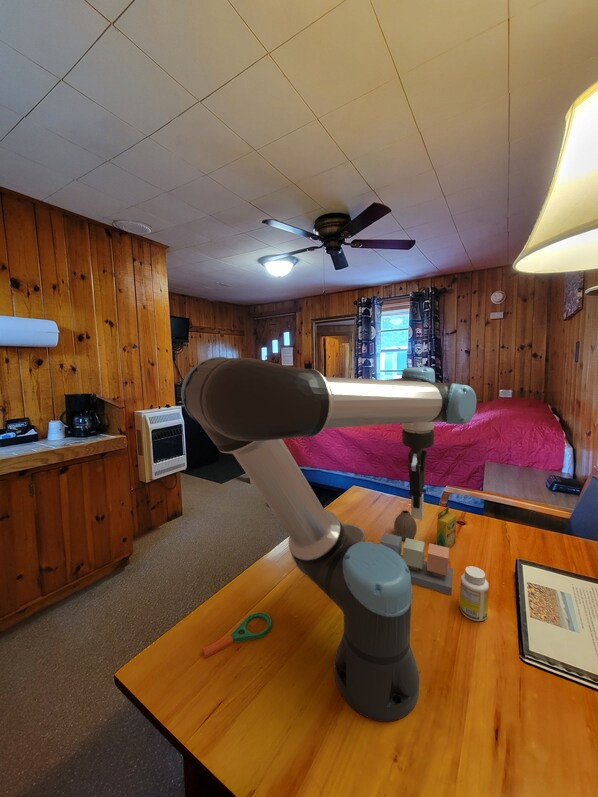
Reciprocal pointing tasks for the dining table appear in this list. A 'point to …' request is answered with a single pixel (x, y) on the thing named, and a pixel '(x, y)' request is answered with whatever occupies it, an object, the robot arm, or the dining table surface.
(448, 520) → the crayon box
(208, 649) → the magnifying glass
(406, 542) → the button sage
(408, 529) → the vase
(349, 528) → the teacup
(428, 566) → the button terracotta
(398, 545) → the button slate
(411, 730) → the dining table surface
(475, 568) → the supplement bottle
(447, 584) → the button board
